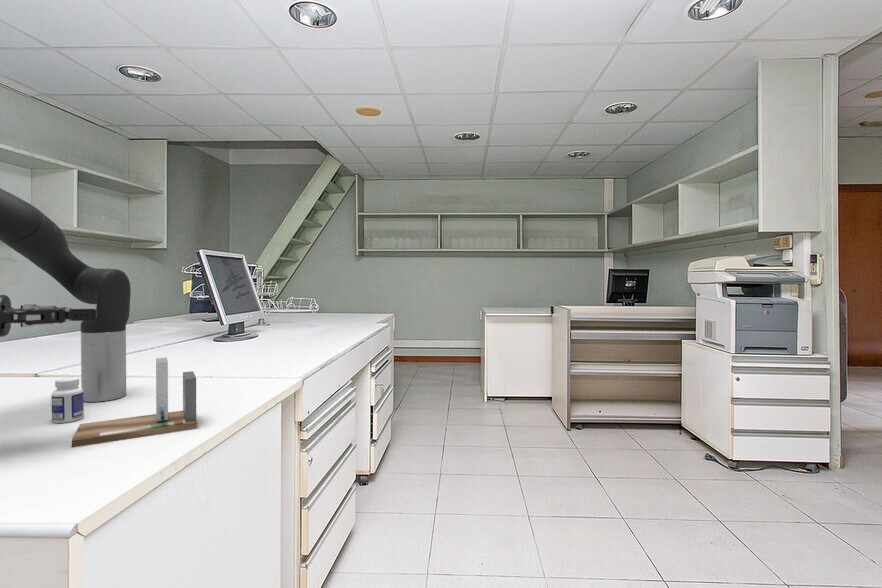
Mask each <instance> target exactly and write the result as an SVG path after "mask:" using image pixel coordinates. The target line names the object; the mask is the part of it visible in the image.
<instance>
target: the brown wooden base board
mask: <svg viewBox="0 0 882 588" xmlns="http://www.w3.org/2000/svg"><path fill="white" fill-rule="evenodd" d="M194 429H198V422H197V420H196V421H190V422H185V419H184V414H183V410H177V411H168V420H162V421H156V413H155V414H145V415H137V416H131V417H122V418H116V419H107V420H99V421H93V422H85V423H79V425H78V427H77V429H76V431H75V433H74V435H73V437H72V439H71V448H74V447H82V446H88V445H89V446H90V445H95V444H96V445H97V444H102V443H109V442H114V441H115V442H116V441H120V440H121V441H122V440H128V439H129V440H130V439H134V438H142V437H148V436H154V435H161V434H167V433H168V434H169V433H174V432H181V431H187V430H194Z"/></svg>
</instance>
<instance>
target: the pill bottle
mask: <svg viewBox="0 0 882 588" xmlns="http://www.w3.org/2000/svg"><path fill="white" fill-rule="evenodd" d="M79 385H80V377H75V376H74V377H73V376H72V377H71V376H70V377H64V378H63V377H62V378H58V379H55V381H54V386H55V388H56V389H55V390H53V391H52V392H51V398H50V399H51V420H52V423H55V424H65V423H72V422H73V423H74V422H76V421H79V420H82V419H83V418H84V416H85V413H84V412H85V410H84V406H85V405H84V402H85V401H83V389H82V388H81V386H79Z"/></svg>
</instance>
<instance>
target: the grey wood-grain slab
mask: <svg viewBox="0 0 882 588" xmlns="http://www.w3.org/2000/svg"><path fill="white" fill-rule="evenodd" d="M182 411H183V414H184V419H185V422H190V421H197V377H196V374H195V373H194V371H183V372H182Z"/></svg>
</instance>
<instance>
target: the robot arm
mask: <svg viewBox="0 0 882 588" xmlns="http://www.w3.org/2000/svg"><path fill="white" fill-rule="evenodd" d="M0 241H1V242H2V243H3V244H5V245H7V246H8V247H9V248H11V250H14V251H15V252H16V253H18V254H20V255H21V256H22V257H24V258H26V260H29V261H30V262H31V264H32V263H33V264H34V265H35V266H37V267H38V268H39V269H41V270H42V271H44V272H45V273H47V274H48V275H49V276H51V278H53V279H54V280H55V281H56V282H57V283H59V284H60V285H61V287H63V288H64V289H65V290H66V291H67V292H68V293H70V294H71V296H73V297H74V298H75V299H76V300H78V301H80V302H81V303H84V304H88V305H96V307H95V308H72V307H67V306H63V307H57V306H56V305H38V304H34V303H33V304H20V308H14V307H12V301H11V299H10V297H9V296H8V295H7V294H0V337H6V336H8V335H9V334H10V331H11V328H12V324H20V328H31V327H34V326H52V325H54V324H63V323H70V322H78V321H79V322H81V323H80V377H81V378H80V388H82V389H83V402H88V403H89V402H90V403H95V402H105V401H112V400H116V399H121V398H124V397H126V396H127V330H126V329H127V323H128V321H129V318H130V311H131V309H130V307H131V283H130V280H129V277H128V275H127V274H126V273H125V272H124V271H122V270H120V269H116V268H95V267H91V266H89V265H88V264H86V263H84V262H83V261H82V260H81V259H79V258H78V257H76V255H74V253H72V251H71V250H70V249H69V245H68V241H67V239H66V236H65V234H64V232H63V231H62V230H61V228H60V227H59V226H58V225H57V224H56V223H55V222H54V221H53V220H51V219H50V218H49V217H48V216H47V215H46V214H45V213H44V212H42V211H41V210H39V209H38V207H36V206H34V205H33V204H31V203H29V202H27V201H25V200H24V199H22V198H20V197H19V196H17V195H14V194H13V193H11V192H9V191H7V190H5V189H2V187H1V188H0Z"/></svg>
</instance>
